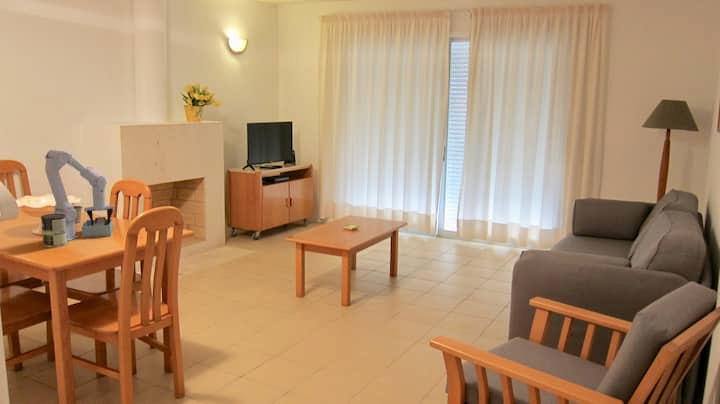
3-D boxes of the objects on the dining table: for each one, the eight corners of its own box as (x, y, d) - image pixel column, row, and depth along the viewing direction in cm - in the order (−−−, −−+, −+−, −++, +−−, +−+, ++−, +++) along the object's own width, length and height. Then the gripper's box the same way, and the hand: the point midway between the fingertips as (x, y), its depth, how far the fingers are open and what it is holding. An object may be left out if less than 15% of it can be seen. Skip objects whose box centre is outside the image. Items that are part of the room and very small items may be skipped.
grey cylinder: (106, 231, 303) (106, 218, 302) (96, 232, 300) (95, 219, 299) (105, 229, 307) (105, 216, 306) (95, 230, 305) (94, 217, 303)
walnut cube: (104, 234, 296) (103, 225, 295) (93, 235, 294) (92, 225, 293) (105, 232, 300) (104, 223, 299) (94, 233, 299) (93, 223, 298)
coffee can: (41, 248, 270) (39, 218, 268) (44, 242, 279) (42, 214, 277) (66, 246, 274) (64, 217, 271) (68, 241, 283) (66, 213, 281)
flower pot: (87, 221, 329) (86, 206, 327) (75, 224, 320) (74, 209, 318) (73, 220, 331) (72, 205, 330) (61, 223, 322) (60, 208, 321)
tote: (110, 236, 295) (110, 225, 294) (82, 237, 291) (81, 226, 290) (113, 228, 311) (112, 218, 310) (86, 230, 307) (85, 220, 306)
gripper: (84, 200, 295) (86, 226, 297) (115, 198, 302) (116, 224, 304) (83, 198, 301) (84, 224, 303) (113, 196, 308) (114, 221, 310)
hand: (100, 224), depth 304 cm, fingers open, 7 cm apart
